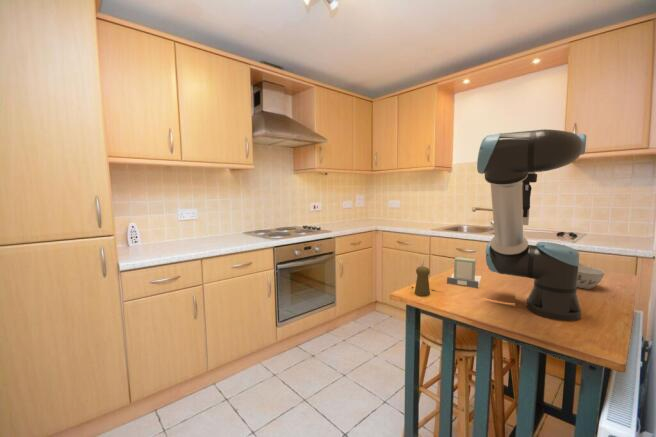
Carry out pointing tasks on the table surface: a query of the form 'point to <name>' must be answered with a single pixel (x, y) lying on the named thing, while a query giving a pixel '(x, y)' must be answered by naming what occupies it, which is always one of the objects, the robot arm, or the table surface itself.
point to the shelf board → (464, 281)
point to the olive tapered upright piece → (422, 282)
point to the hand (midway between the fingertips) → (523, 222)
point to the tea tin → (464, 268)
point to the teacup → (588, 276)
